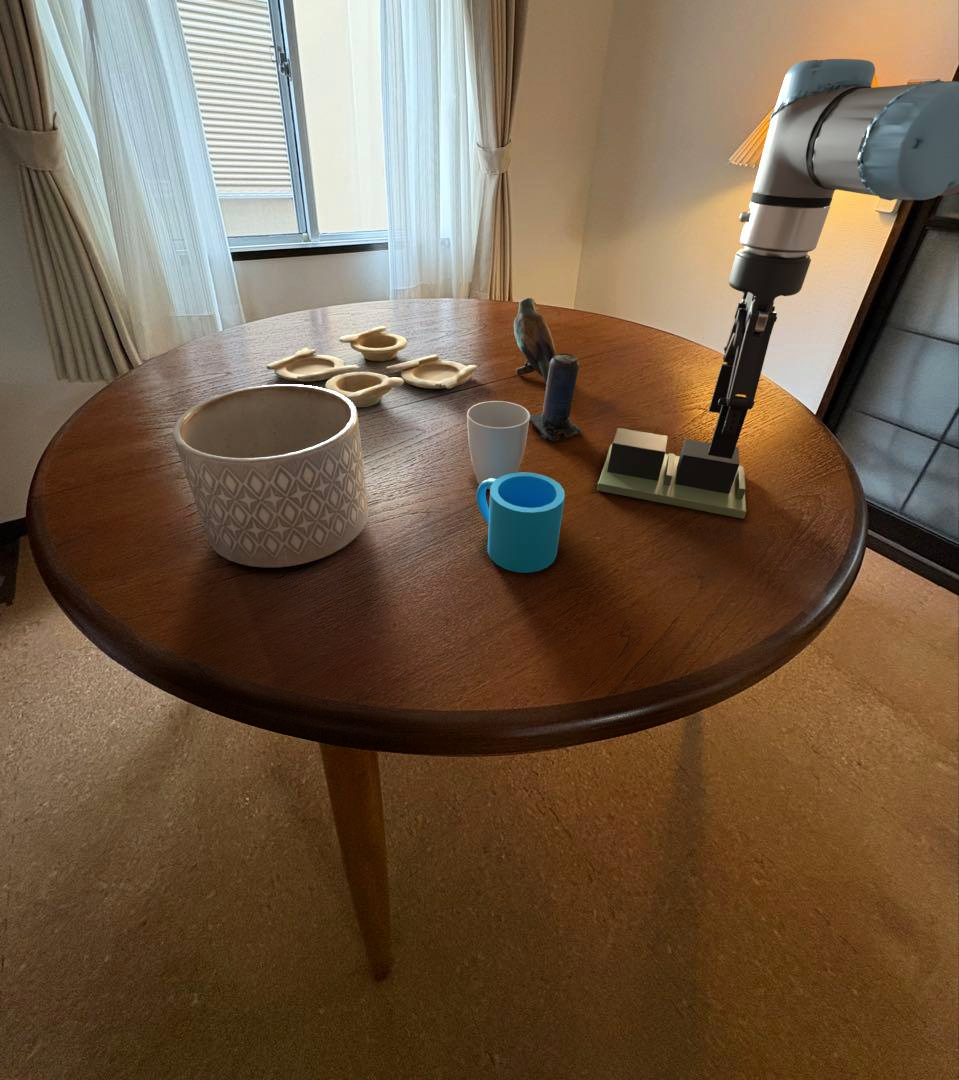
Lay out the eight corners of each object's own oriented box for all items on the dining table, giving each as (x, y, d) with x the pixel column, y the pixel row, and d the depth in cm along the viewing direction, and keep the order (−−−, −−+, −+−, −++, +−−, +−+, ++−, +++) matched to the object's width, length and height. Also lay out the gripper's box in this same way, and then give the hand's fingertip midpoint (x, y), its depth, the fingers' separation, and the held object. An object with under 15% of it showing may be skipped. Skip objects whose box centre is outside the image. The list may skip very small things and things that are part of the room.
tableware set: (491, 381, 107) (492, 360, 104) (368, 429, 89) (365, 405, 87) (376, 337, 125) (375, 318, 123) (256, 370, 108) (251, 348, 106)
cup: (535, 487, 77) (542, 419, 71) (484, 502, 74) (487, 433, 68) (504, 461, 83) (508, 396, 76) (455, 474, 79) (455, 408, 73)
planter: (400, 531, 68) (392, 422, 59) (254, 602, 58) (218, 483, 49) (319, 472, 79) (302, 372, 70) (184, 523, 68) (144, 413, 60)
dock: (740, 474, 81) (753, 439, 78) (743, 519, 72) (758, 481, 69) (609, 451, 86) (615, 416, 82) (596, 490, 77) (603, 453, 73)
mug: (571, 552, 66) (580, 494, 61) (521, 582, 61) (527, 522, 56) (501, 508, 73) (504, 452, 68) (452, 532, 68) (452, 474, 63)
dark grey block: (728, 476, 78) (738, 447, 76) (729, 494, 75) (739, 464, 72) (676, 466, 80) (684, 438, 77) (675, 484, 76) (683, 454, 74)
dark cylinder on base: (587, 434, 90) (599, 360, 83) (549, 445, 87) (557, 369, 80) (552, 413, 96) (561, 342, 89) (516, 422, 93) (521, 350, 86)
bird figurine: (585, 392, 102) (576, 277, 99) (533, 396, 100) (522, 279, 97) (561, 402, 115) (552, 301, 112) (514, 406, 113) (504, 304, 111)
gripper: (734, 231, 70) (692, 393, 83) (741, 269, 51) (685, 472, 64) (799, 236, 68) (745, 400, 81) (832, 276, 49) (755, 484, 62)
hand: (719, 432), depth 73 cm, fingers open, 13 cm apart
